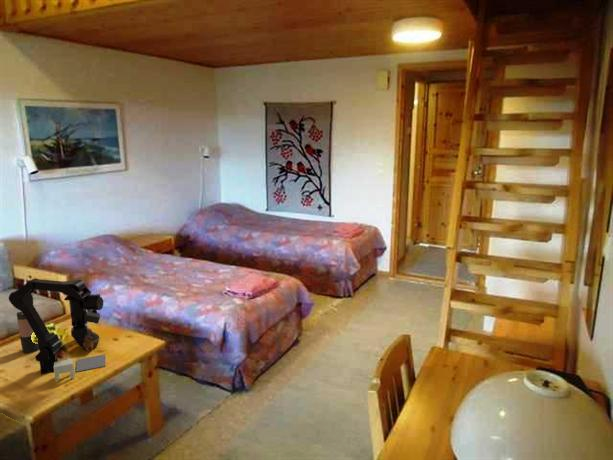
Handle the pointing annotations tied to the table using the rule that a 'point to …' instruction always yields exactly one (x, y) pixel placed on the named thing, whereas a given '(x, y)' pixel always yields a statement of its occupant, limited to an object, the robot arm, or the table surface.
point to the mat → (90, 363)
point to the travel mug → (26, 334)
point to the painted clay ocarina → (90, 340)
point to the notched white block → (63, 368)
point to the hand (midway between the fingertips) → (81, 342)
